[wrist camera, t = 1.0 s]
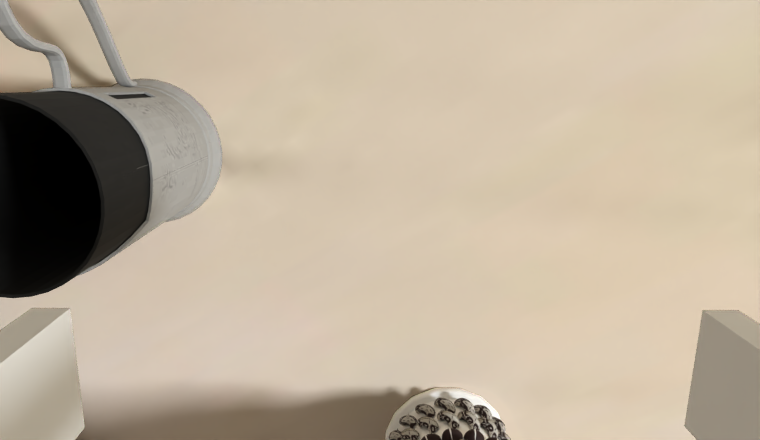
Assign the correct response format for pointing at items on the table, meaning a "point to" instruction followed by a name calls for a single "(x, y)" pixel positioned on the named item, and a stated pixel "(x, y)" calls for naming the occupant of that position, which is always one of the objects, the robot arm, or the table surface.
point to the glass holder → (93, 165)
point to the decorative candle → (446, 417)
